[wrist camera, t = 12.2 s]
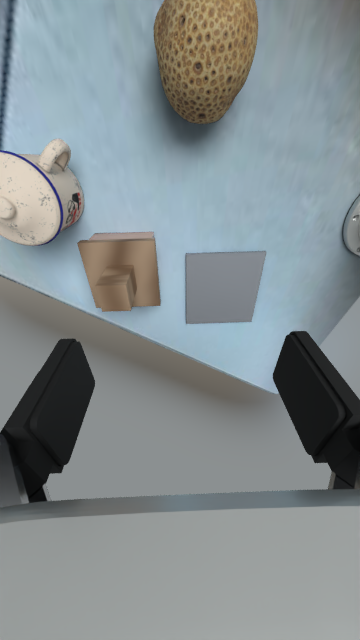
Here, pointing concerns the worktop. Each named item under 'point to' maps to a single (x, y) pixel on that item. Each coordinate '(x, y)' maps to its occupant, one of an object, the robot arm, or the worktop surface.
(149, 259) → the lid
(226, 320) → the mat
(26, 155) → the teacup with lid
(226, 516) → the robot arm
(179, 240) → the worktop surface
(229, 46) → the natural sponge
